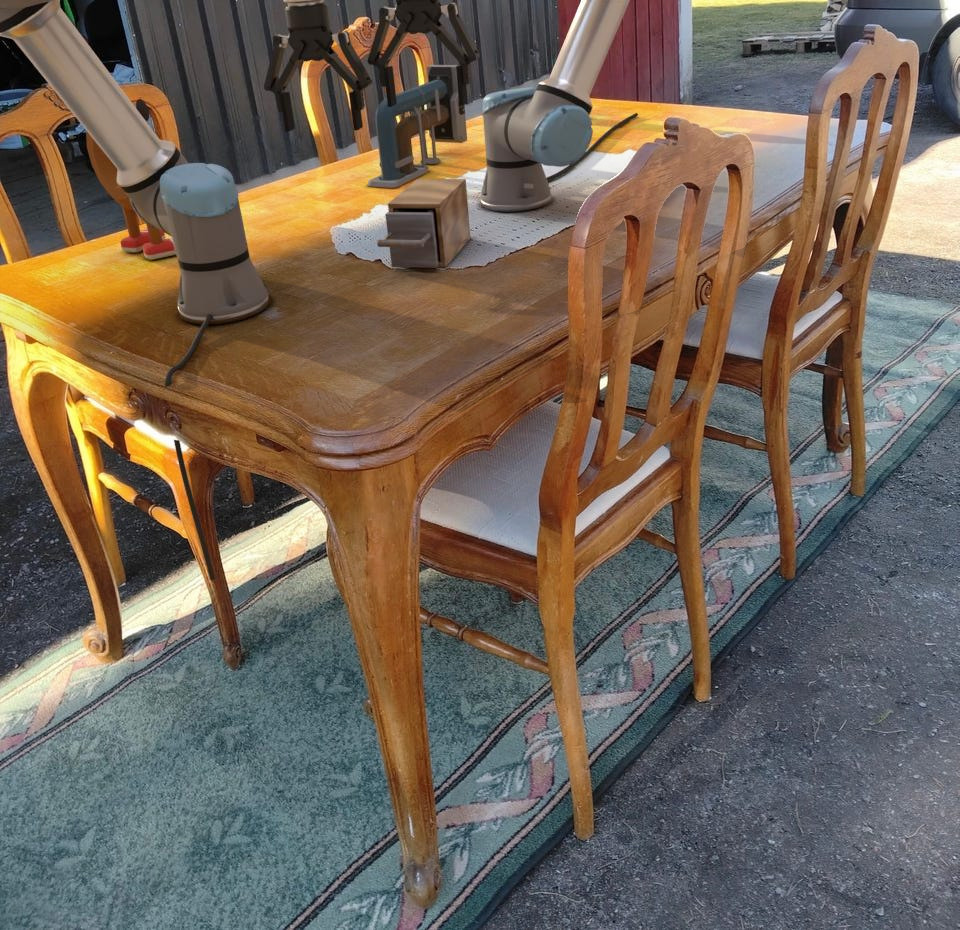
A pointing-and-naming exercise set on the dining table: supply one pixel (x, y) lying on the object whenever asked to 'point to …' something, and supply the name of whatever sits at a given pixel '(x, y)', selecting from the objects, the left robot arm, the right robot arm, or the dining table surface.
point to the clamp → (418, 126)
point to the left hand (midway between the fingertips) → (324, 129)
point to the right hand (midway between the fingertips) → (427, 104)
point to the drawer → (412, 237)
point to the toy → (129, 203)
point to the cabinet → (440, 211)
